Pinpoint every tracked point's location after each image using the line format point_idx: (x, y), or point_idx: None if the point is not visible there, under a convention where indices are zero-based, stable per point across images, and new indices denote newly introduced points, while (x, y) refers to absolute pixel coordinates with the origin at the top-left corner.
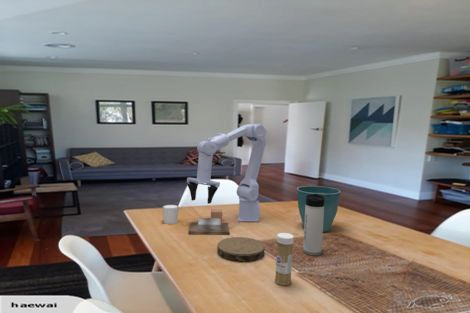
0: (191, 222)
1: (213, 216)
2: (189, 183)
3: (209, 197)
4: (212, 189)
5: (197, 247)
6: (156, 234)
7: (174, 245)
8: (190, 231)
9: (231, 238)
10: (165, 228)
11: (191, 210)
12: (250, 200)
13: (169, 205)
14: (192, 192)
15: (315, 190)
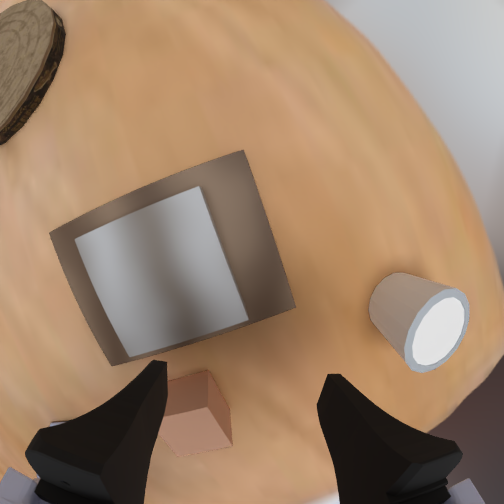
0: (290, 307)
1: (193, 394)
2: (440, 482)
3: (127, 388)
4: (38, 431)
5: (141, 29)
6: (379, 112)
7: (242, 15)
8: (232, 153)
9: (10, 103)
10: (384, 204)
11: None
12: (39, 478)
13: (447, 349)
14: (362, 418)
15: None
